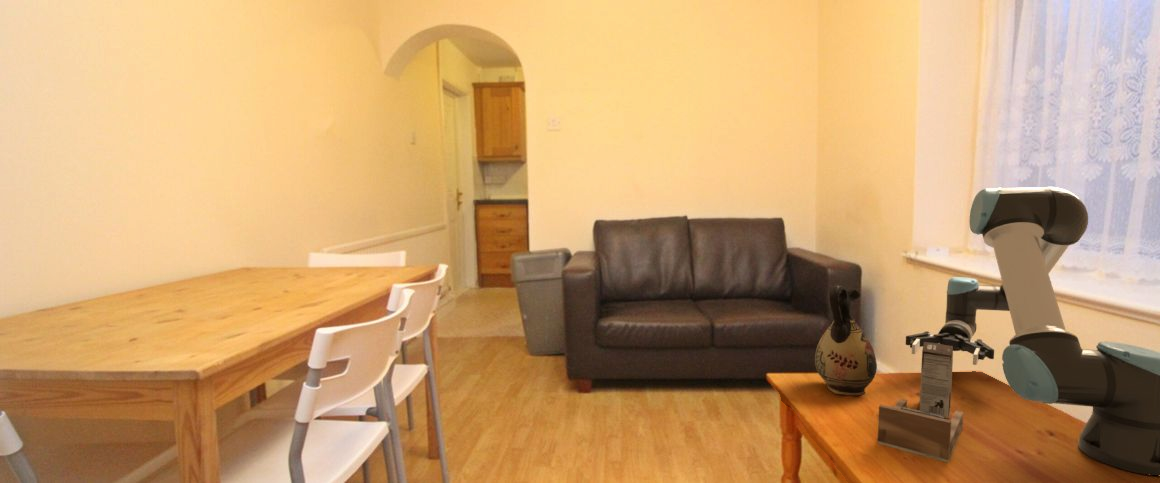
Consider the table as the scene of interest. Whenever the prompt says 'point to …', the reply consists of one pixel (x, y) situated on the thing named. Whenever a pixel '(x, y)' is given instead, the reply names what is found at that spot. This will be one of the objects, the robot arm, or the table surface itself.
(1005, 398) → the table surface
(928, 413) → the pusher
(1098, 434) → the robot arm
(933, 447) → the wooden tray
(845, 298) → the ceramic jug
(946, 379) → the coffee box
